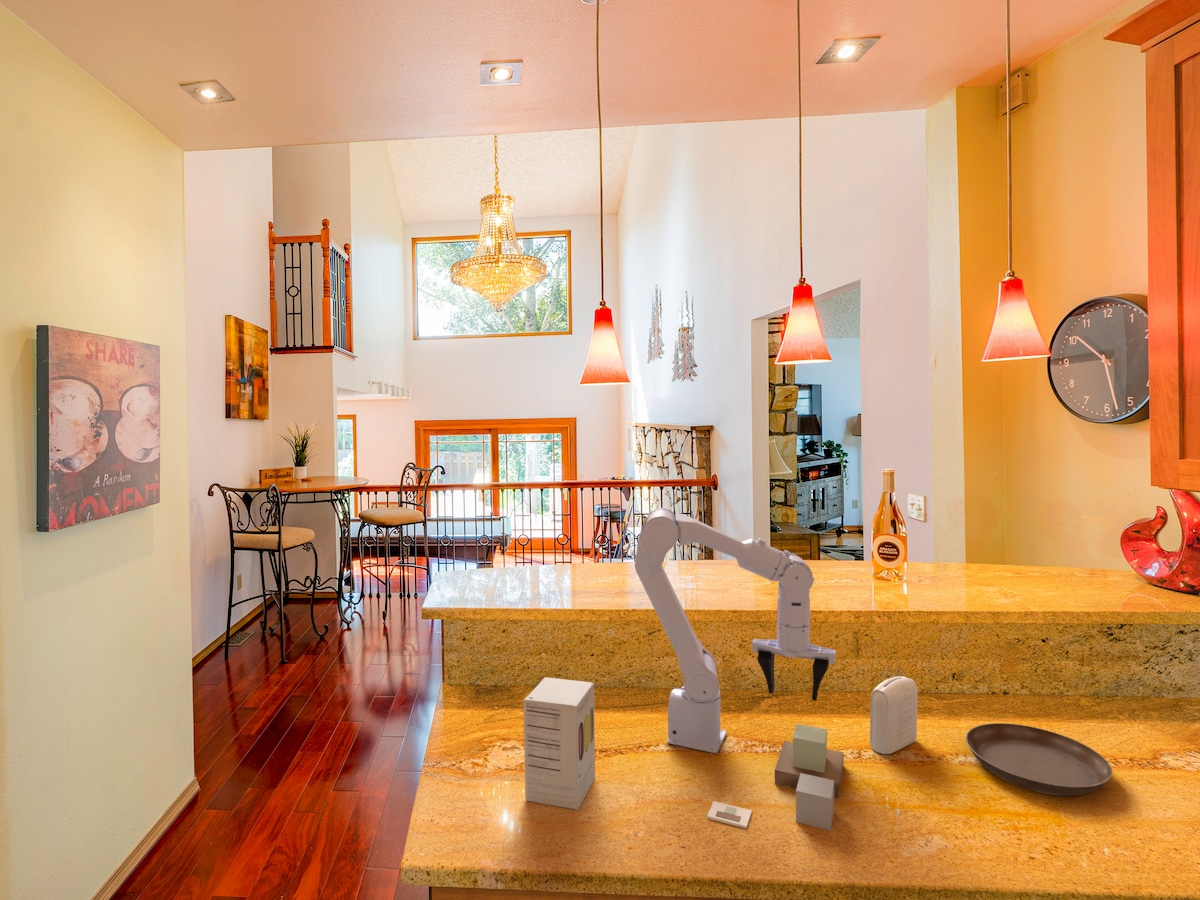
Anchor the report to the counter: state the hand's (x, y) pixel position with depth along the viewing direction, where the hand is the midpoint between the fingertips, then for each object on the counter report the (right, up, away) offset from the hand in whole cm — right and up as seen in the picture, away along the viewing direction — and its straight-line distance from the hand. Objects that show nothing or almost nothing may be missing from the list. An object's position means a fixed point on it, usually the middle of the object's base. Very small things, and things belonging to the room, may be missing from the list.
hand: (792, 694), depth 118 cm
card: (-16, -11, -20) cm, 27 cm away
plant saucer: (+39, -10, -8) cm, 41 cm away
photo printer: (+19, -9, 0) cm, 21 cm away
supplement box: (-42, -11, -12) cm, 45 cm away
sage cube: (0, -8, -10) cm, 12 cm away
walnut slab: (0, -11, -9) cm, 14 cm away
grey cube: (-3, -11, -20) cm, 23 cm away
